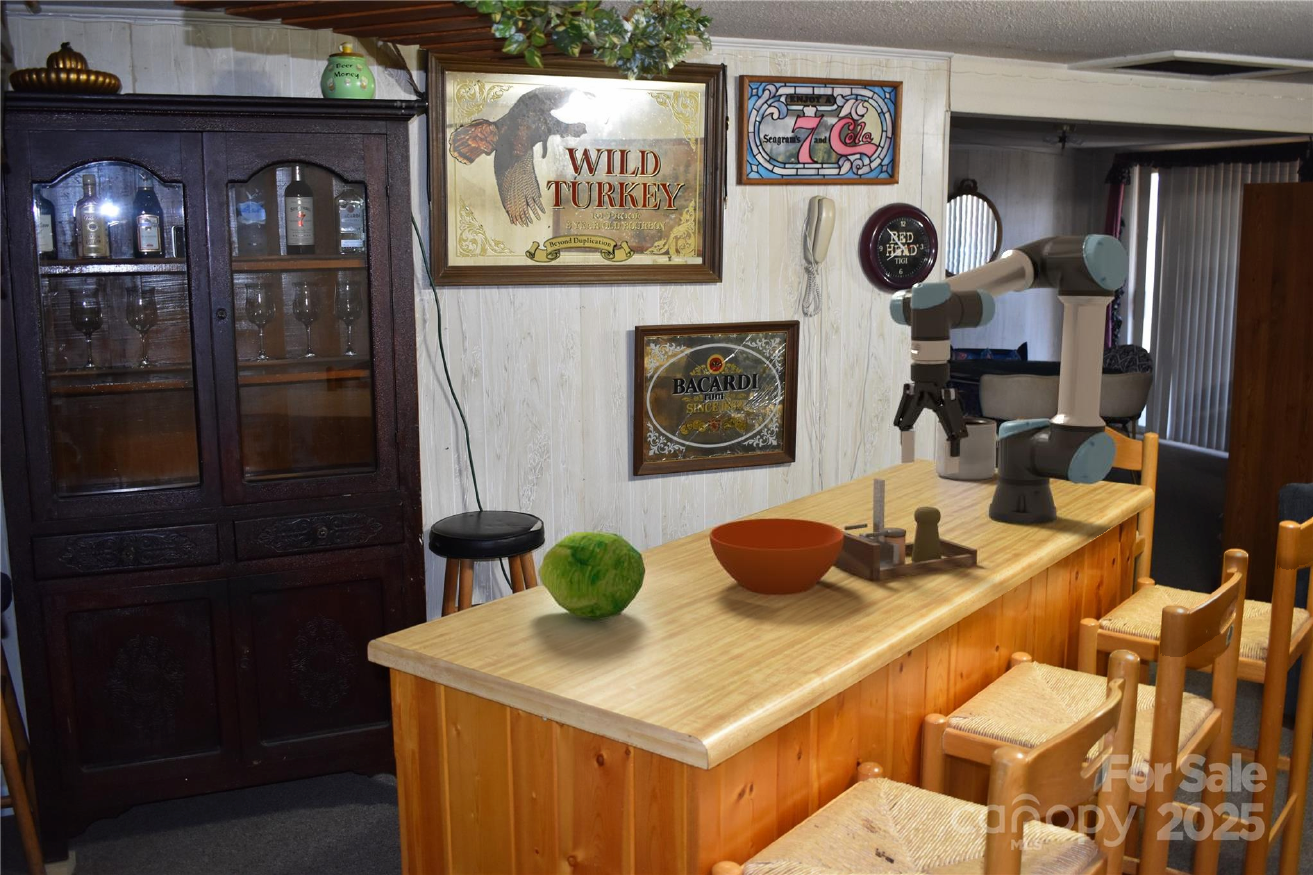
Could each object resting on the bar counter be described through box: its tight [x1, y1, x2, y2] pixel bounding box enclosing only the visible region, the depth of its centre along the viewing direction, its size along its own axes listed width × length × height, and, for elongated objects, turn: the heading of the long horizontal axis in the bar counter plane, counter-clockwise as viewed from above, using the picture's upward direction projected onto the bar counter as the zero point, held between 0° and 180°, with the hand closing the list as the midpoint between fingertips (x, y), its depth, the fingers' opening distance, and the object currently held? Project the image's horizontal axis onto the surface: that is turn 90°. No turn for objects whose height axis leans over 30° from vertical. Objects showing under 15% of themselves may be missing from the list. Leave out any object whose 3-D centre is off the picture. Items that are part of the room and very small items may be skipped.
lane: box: [833, 523, 978, 582], centre depth 229 cm, size 25×14×8 cm, turn 115°
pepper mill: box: [910, 506, 943, 563], centre depth 231 cm, size 6×6×11 cm
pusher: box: [858, 477, 899, 568], centre depth 225 cm, size 1×11×18 cm, turn 25°
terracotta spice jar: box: [884, 526, 907, 565], centre depth 228 cm, size 5×5×7 cm
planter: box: [935, 416, 997, 481], centre depth 319 cm, size 16×16×16 cm
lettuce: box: [537, 531, 646, 620], centre depth 199 cm, size 17×20×15 cm
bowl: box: [709, 517, 844, 596], centre depth 216 cm, size 25×25×10 cm
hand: (929, 467), depth 229 cm, fingers open, 13 cm apart
